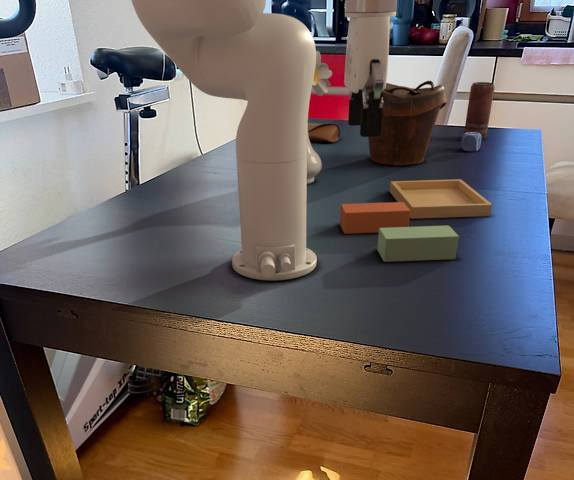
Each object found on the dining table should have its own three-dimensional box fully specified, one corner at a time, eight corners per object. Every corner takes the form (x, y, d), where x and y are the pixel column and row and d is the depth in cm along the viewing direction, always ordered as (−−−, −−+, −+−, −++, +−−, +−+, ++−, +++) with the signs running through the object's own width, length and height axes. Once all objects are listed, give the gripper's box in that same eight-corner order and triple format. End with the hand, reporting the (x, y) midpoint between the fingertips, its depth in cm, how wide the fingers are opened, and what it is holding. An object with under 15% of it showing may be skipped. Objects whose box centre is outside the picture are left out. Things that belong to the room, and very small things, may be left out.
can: (458, 137, 163) (466, 82, 155) (475, 135, 165) (484, 81, 157) (472, 141, 158) (481, 84, 150) (490, 139, 160) (500, 83, 153)
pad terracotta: (408, 231, 98) (410, 210, 96) (344, 234, 97) (345, 212, 95) (401, 222, 102) (403, 201, 100) (339, 224, 101) (340, 203, 99)
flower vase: (333, 171, 133) (337, 45, 119) (322, 193, 118) (325, 52, 104) (278, 169, 135) (276, 46, 121) (260, 190, 120) (255, 52, 106)
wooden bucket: (454, 164, 137) (466, 79, 127) (380, 172, 131) (387, 84, 121) (414, 149, 151) (422, 72, 141) (345, 156, 145) (349, 76, 135)
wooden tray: (490, 216, 104) (492, 204, 103) (411, 218, 103) (412, 207, 102) (459, 189, 119) (460, 179, 118) (389, 191, 118) (390, 181, 117)
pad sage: (455, 259, 87) (459, 236, 85) (383, 262, 86) (385, 238, 84) (445, 247, 91) (448, 225, 89) (377, 250, 91) (378, 227, 89)
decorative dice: (475, 152, 147) (478, 135, 145) (460, 150, 149) (462, 134, 147) (479, 149, 150) (482, 132, 148) (464, 147, 152) (467, 131, 150)
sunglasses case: (271, 139, 161) (274, 114, 161) (277, 148, 168) (280, 124, 168) (333, 142, 157) (337, 117, 157) (337, 151, 164) (341, 127, 164)
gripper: (335, 5, 91) (332, 121, 101) (357, 5, 77) (351, 142, 86) (381, 4, 92) (374, 120, 101) (412, 5, 77) (400, 140, 87)
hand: (363, 130), depth 94 cm, fingers open, 9 cm apart
